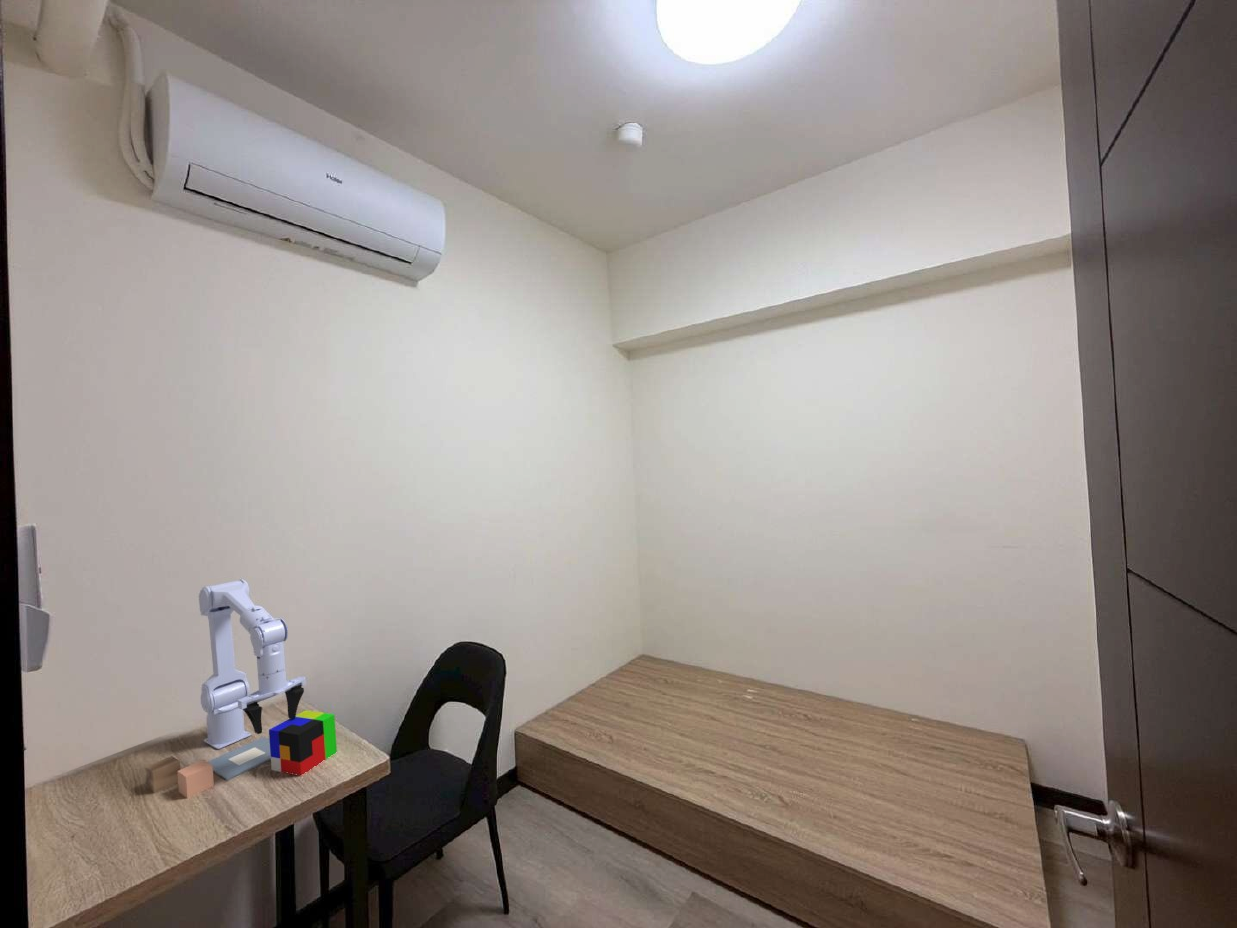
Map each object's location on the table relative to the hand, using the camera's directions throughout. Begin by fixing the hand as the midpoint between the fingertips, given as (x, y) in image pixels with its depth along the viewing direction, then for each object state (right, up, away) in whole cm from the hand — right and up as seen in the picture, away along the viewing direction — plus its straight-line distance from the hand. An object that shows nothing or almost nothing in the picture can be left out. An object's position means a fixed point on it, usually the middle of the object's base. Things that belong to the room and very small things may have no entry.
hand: (275, 725), depth 128 cm
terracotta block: (-14, -11, -8) cm, 19 cm away
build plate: (-11, -11, +5) cm, 16 cm away
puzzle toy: (+6, -10, +1) cm, 12 cm away
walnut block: (-24, -12, -5) cm, 27 cm away
